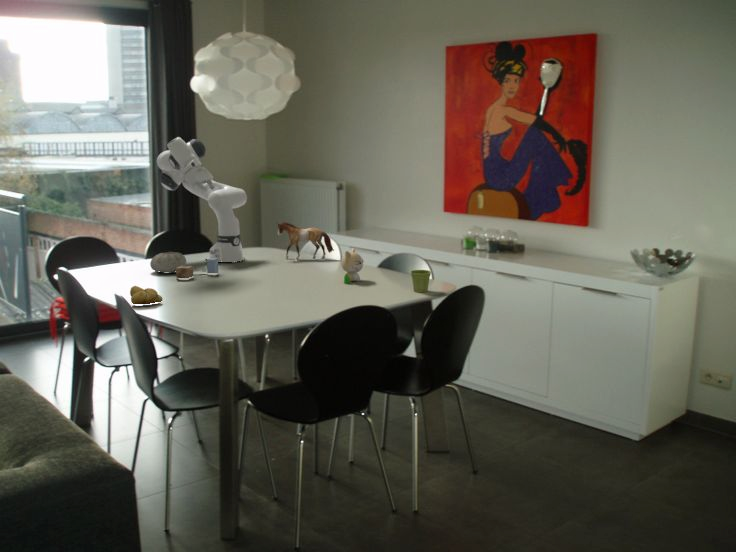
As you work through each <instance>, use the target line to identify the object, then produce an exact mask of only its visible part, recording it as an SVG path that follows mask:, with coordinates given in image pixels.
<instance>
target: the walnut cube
mask: <svg viewBox="0 0 736 552" xmlns="http://www.w3.org/2000/svg"><path fill="white" fill-rule="evenodd" d="M193 271H194V266H193V265H186V266H180V267H177V268H176V272H175V273H176V278H177V277H178V278H189V277H192V276H194V275H195V274H193Z"/></svg>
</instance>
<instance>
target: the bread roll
mask: <svg viewBox="0 0 736 552" xmlns="http://www.w3.org/2000/svg"><path fill="white" fill-rule="evenodd" d="M129 294H130V301H131V302H132V303H133V304H150V303H155V302H161V301H162V302H163V300H164V299H163V297H162V295H160V294H158V292H157V290H156V289H154V288H149V287H148V288H145V289H144V288H142V287H140V286H137V285H134V286H131V288H130V291H129ZM162 302H161V303H162ZM132 303H131V304H132Z"/></svg>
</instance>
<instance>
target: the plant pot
mask: <svg viewBox="0 0 736 552" xmlns="http://www.w3.org/2000/svg"><path fill="white" fill-rule="evenodd" d="M409 273H410V275H411V280H412V287H413V288H412V289H413V291H414V292H415V293H426V292H428V289H429V285H430V277H431V274H432V271H431V270H427V269H415V270H410V271H409Z"/></svg>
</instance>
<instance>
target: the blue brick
mask: <svg viewBox="0 0 736 552" xmlns="http://www.w3.org/2000/svg"><path fill="white" fill-rule="evenodd" d="M206 271H207V273H218V274H219V263H218V258H209V259H207V260H206Z"/></svg>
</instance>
